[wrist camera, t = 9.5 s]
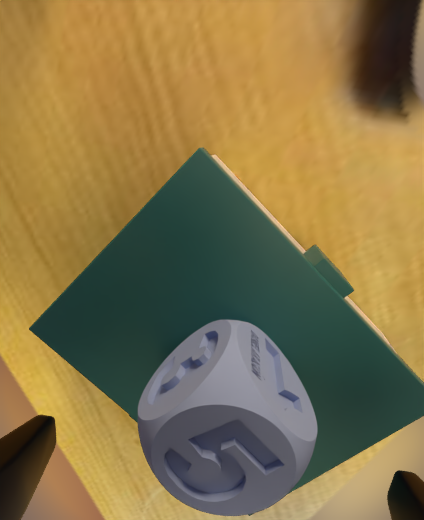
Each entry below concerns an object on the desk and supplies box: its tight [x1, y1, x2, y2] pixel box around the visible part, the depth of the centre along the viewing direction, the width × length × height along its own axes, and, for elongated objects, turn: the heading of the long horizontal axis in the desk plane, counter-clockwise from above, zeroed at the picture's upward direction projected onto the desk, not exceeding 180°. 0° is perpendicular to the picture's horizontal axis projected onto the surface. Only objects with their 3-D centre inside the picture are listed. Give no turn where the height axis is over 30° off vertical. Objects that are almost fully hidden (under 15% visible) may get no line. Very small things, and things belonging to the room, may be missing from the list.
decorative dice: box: [138, 320, 317, 516], centre depth 11 cm, size 4×4×4 cm
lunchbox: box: [29, 148, 424, 516], centre depth 15 cm, size 12×10×5 cm
